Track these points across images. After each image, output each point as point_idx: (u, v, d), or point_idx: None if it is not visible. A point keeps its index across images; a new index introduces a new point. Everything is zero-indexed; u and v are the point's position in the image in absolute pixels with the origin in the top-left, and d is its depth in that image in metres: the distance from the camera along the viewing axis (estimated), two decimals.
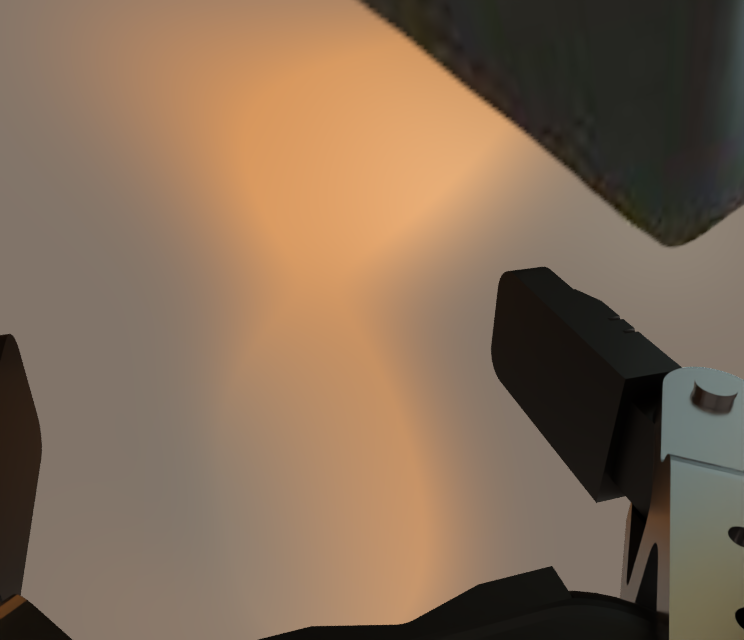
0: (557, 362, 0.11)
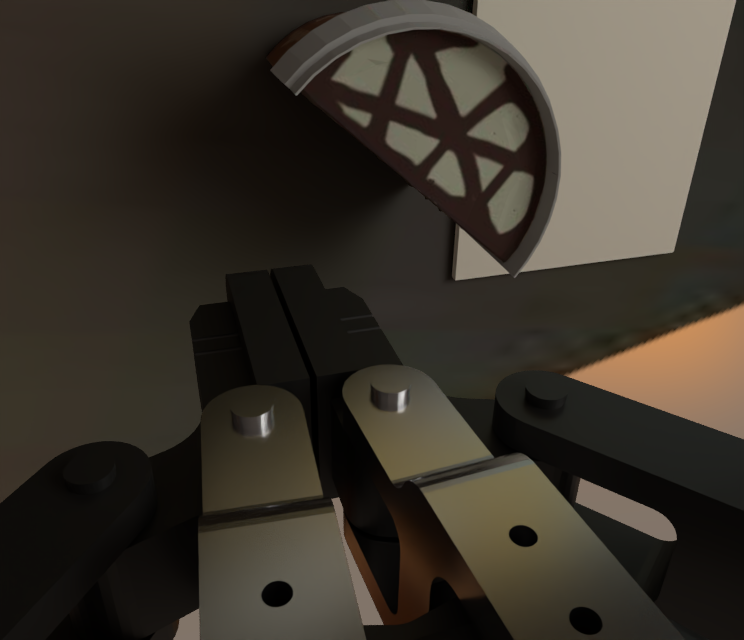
0: None
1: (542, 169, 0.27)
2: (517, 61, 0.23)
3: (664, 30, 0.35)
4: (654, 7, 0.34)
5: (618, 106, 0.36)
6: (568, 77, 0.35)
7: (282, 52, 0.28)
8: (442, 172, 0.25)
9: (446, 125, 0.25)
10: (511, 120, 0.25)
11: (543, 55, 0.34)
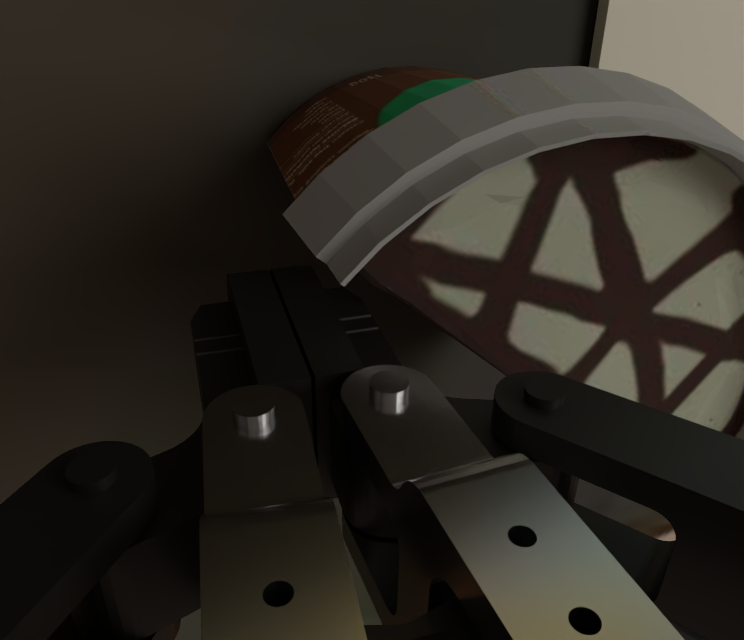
0: None
1: None
2: None
3: None
4: None
5: None
6: None
7: (296, 144, 0.16)
8: (604, 381, 0.13)
9: (617, 300, 0.13)
10: (730, 279, 0.14)
11: None
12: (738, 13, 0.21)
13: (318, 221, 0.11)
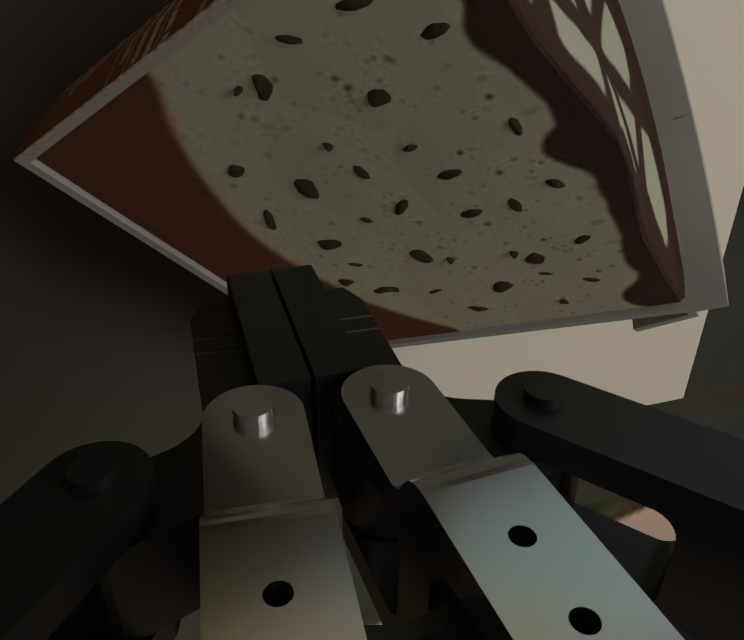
0: None
1: (653, 125, 0.15)
2: None
3: None
4: None
5: None
6: None
7: (105, 68, 0.11)
8: (620, 118, 0.12)
9: (587, 25, 0.12)
10: (613, 36, 0.14)
11: None
12: None
13: None
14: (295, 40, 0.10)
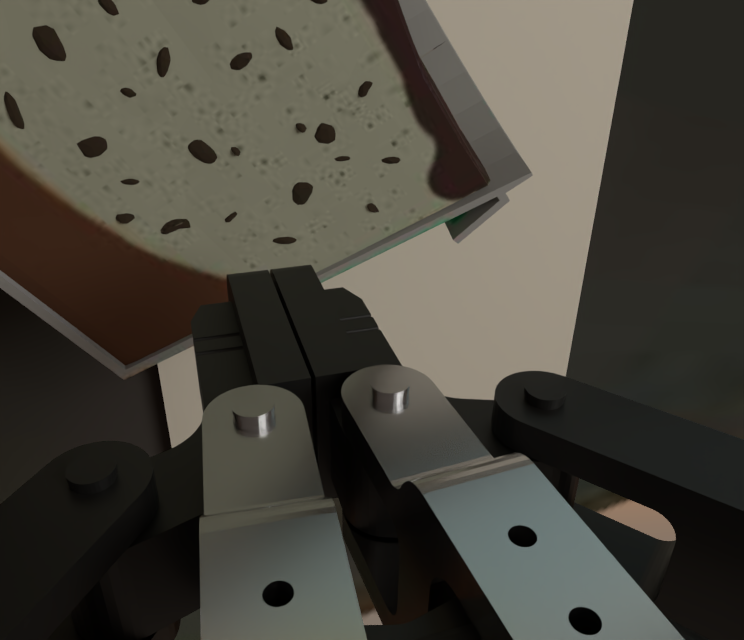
0: None
1: None
2: None
3: (496, 107, 0.20)
4: (471, 70, 0.19)
5: (428, 231, 0.21)
6: None
7: None
8: None
9: None
10: None
11: None
12: None
13: None
14: None
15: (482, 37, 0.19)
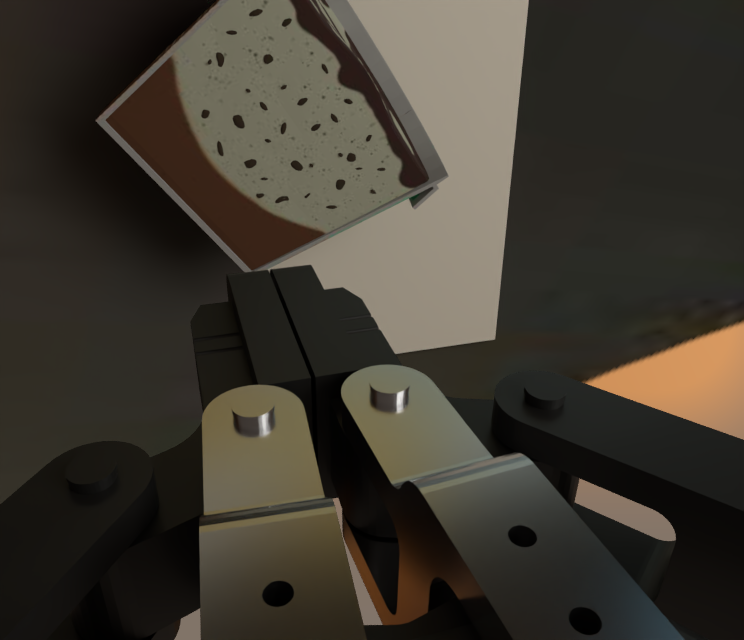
0: None
1: (397, 116, 0.32)
2: (356, 16, 0.31)
3: (445, 140, 0.36)
4: (430, 120, 0.35)
5: (408, 209, 0.37)
6: None
7: None
8: None
9: None
10: None
11: None
12: None
13: None
14: (234, 32, 0.26)
15: (435, 102, 0.35)
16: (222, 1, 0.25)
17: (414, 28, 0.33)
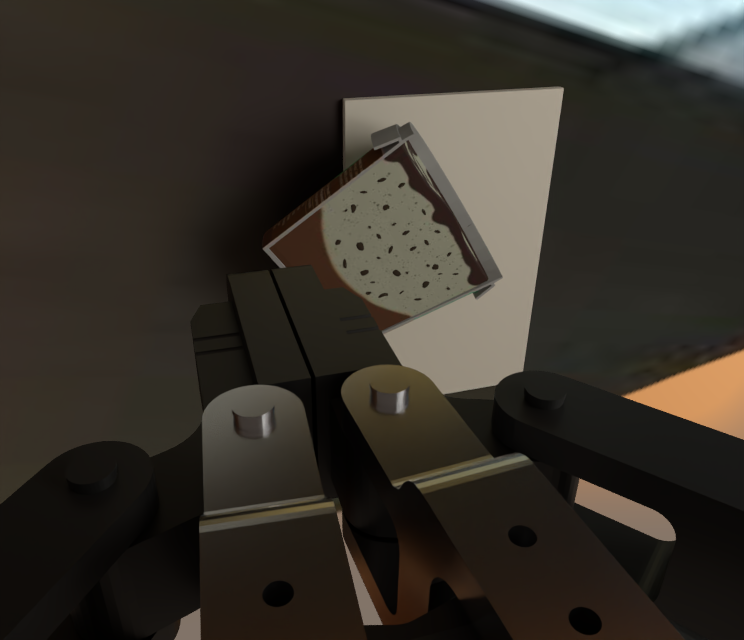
0: None
1: (462, 229, 0.44)
2: (435, 159, 0.42)
3: (491, 237, 0.48)
4: (481, 224, 0.47)
5: None
6: None
7: (301, 212, 0.38)
8: None
9: None
10: None
11: None
12: None
13: (388, 138, 0.35)
14: (365, 192, 0.37)
15: (485, 212, 0.46)
16: (360, 174, 0.36)
17: (473, 162, 0.44)
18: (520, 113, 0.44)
